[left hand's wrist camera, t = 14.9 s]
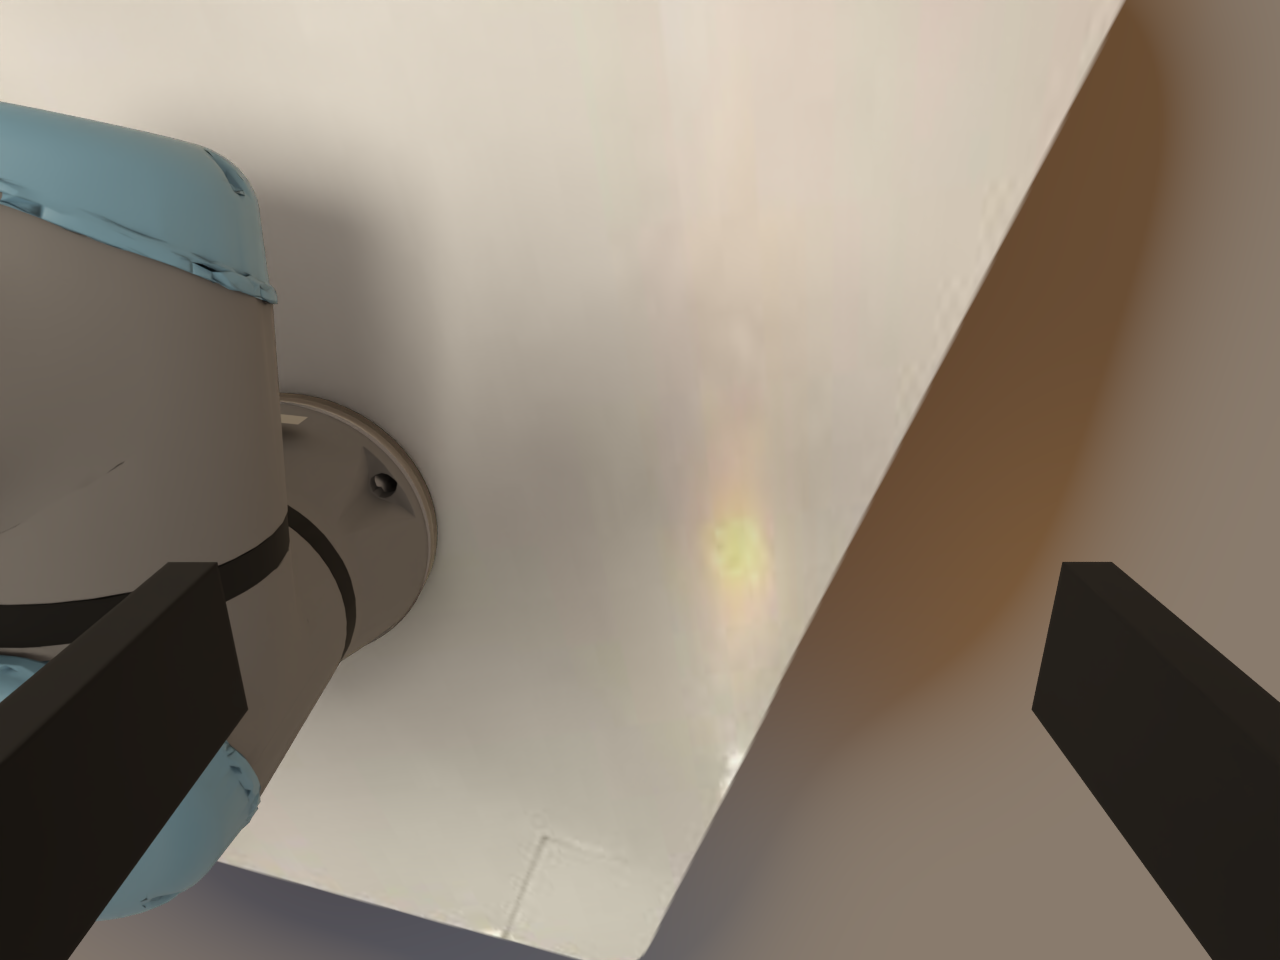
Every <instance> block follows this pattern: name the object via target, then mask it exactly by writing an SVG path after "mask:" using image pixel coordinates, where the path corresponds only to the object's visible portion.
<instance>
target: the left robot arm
mask: <svg viewBox="0 0 1280 960" xmlns="http://www.w3.org/2000/svg"><path fill="white" fill-rule="evenodd" d="M273 304H277V294H276V291H275V289H274V288H273V287H272V286H271V285H270V284H269V278H268V272H267V265H266V257H265V250H264V242H263V235H262V227H261V220H260V212H259V206H258V201H257V198H256V195H255V193H254V191H253V189H252V187H251V185H250V183H249V181H248V180H247V179H246V177H245V176H244V175H243V173H242V172H241V171H240V170H239V169H238V168H237V167H236V166H235V165H234V164H233V163H231V162H230V161H229V160H227V159H226V158H225V157H223V156H222V155H220V154H218V153H216V152H214V151H212V150H210V149H208V148H205V147H203V146H200V145H196V144H193V143H189V142H185V141H182V140H178V139H174V138H170V137H165V136H161V135H157V134H153V133H149V132H144V131H140V130H135V129H131V128H126V127H122V126H117V125H113V124H108V123H103V122H99V121H94V120H89V119H85V118H80V117H75V116H70V115H65V114H61V113H56V112H51V111H46V110H41V109H36V108H31V107H26V106H21V105H16V104H11V103H6V102H1V101H0V960H68V959H69V957H70V956H71V954H72V953H73V952H74V950H75V949H76V947H77V946H78V945H79V943H80V942H81V941H82V939H83V938H84V936H85V935H86V934H87V932H88V931H89V929H90V928H91V927H92V925H93V924H94V922H95V921H102V920H110V919H117V918H123V917H127V916H131V915H135V914H139V913H142V912H145V911H148V910H151V909H153V908H156V907H158V906H160V905H163V904H165V903H167V902H169V901H170V900H172V899H174V898H175V897H176V896H177V895H178V894H179V893H181V892H184V891H186V890H187V889H188V888H190V887H192V886H194V885H195V884H196V883H197V882H199V881H200V880H201V879H202V878H203V877H204V876H205V875H206V874H207V873H208V872H209V870H210V869H211V868H212V867H213V865H214V864H215V863H216V861H217V860H218V859H219V858H220V856H221V855H222V854H223V852H224V851H225V850H226V849H227V847H228V846H229V845H230V843H231V842H232V841H233V840H234V838H235V837H236V836H237V834H238V833H239V832H240V831H241V829H242V828H244V827H245V826H246V825H247V824H248V823H249V822H250V820H251V818H252V816H253V815H254V814H255V812H256V811H257V809H258V807H257V806H258V805H259V803H260V796H261V795H262V793H263V791H264V790H265V788H266V786H267V785H268V783H269V781H270V780H271V778H272V776H273V774H274V773H275V771H276V769H277V768H278V766H279V764H280V763H281V761H282V759H283V758H284V756H285V754H286V753H287V751H288V749H289V748H290V746H291V744H292V743H293V741H294V739H295V738H296V736H297V734H298V732H299V731H300V729H301V727H302V726H303V724H304V722H305V721H306V719H307V717H308V716H309V714H310V712H311V711H312V709H313V707H314V706H315V704H316V702H317V701H318V699H319V697H320V695H321V694H322V692H323V690H324V689H325V687H326V685H327V684H328V682H329V680H330V679H331V677H332V675H333V674H334V672H335V670H336V668H337V666H338V665H339V663H340V661H342V660H344V659H345V658H347V657H348V656H350V655H351V654H353V653H355V652H356V651H358V650H359V649H360V648H362V647H363V646H365V645H367V644H369V643H371V642H373V641H375V640H376V639H378V638H380V637H381V636H383V635H384V634H386V633H387V632H388V631H390V630H391V629H392V628H394V627H395V626H396V625H397V624H398V623H399V622H400V621H401V620H402V619H403V618H404V617H405V615H406V614H407V613H408V612H409V611H410V609H411V608H412V606H413V605H414V603H415V602H416V600H417V598H418V596H419V594H420V592H421V590H422V588H423V586H424V584H425V582H426V581H427V579H428V577H429V574H430V571H431V569H432V566H433V562H434V558H435V553H436V546H437V523H436V516H435V511H434V506H433V503H432V500H431V496H430V494H429V491H428V489H427V486H426V484H425V482H424V480H423V478H422V476H421V474H420V472H419V471H418V469H417V468H416V466H415V465H414V463H413V461H412V460H411V459H410V458H409V456H408V455H407V454H406V452H405V451H404V450H403V449H402V448H401V447H400V446H399V445H398V444H397V442H396V441H395V440H394V439H393V438H391V437H390V436H389V435H388V434H387V433H386V432H385V431H383V430H382V429H381V428H380V427H378V426H377V425H376V424H374V423H373V422H371V421H370V420H368V419H367V418H365V417H363V416H362V415H360V414H358V413H356V412H354V411H352V410H350V409H348V408H346V407H344V406H342V405H339V404H336V403H334V402H331V401H328V400H324V399H321V398H318V397H313V396H308V395H302V394H293V393H279V384H278V370H277V356H276V342H275V328H274V314H273ZM1032 711H1033V712H1034V713H1035V715H1036V716H1037V718H1038V719H1039V720H1040V722H1041V723H1042V725H1043V726H1044V727H1045V729H1046V730H1047V731H1048V733H1049V734H1050V736H1051V737H1052V738H1053V740H1054V741H1055V743H1056V744H1057V745H1058V747H1059V748H1060V749H1061V751H1062V752H1063V754H1064V755H1065V756H1066V758H1067V759H1068V761H1069V762H1070V763H1071V765H1072V766H1073V767H1074V769H1075V770H1076V772H1077V773H1078V774H1079V776H1080V777H1081V779H1082V780H1083V781H1084V783H1085V784H1086V785H1087V787H1088V788H1089V790H1090V791H1091V792H1092V794H1093V795H1094V797H1095V798H1096V799H1097V801H1098V802H1099V803H1100V805H1101V806H1102V808H1103V809H1104V810H1105V812H1106V813H1107V815H1108V816H1109V817H1110V819H1111V820H1112V821H1113V823H1114V824H1115V826H1116V827H1117V828H1118V830H1119V831H1120V833H1121V834H1122V835H1123V837H1124V838H1125V839H1126V841H1127V842H1128V844H1129V845H1130V846H1131V848H1132V849H1133V851H1134V852H1135V853H1136V855H1137V856H1138V857H1139V859H1140V860H1141V862H1142V863H1143V864H1144V866H1145V867H1146V869H1147V870H1148V871H1149V873H1150V874H1151V875H1152V877H1153V878H1154V880H1155V881H1156V882H1157V884H1158V885H1159V887H1160V888H1161V889H1162V891H1163V892H1164V893H1165V895H1166V896H1167V898H1168V899H1169V900H1170V902H1171V903H1172V905H1173V906H1174V907H1175V909H1176V910H1177V911H1178V913H1179V914H1180V916H1181V917H1182V918H1183V920H1184V921H1185V923H1186V924H1187V925H1188V927H1189V928H1190V929H1191V931H1192V932H1193V934H1194V935H1195V936H1196V938H1197V939H1198V941H1199V942H1200V943H1201V945H1202V946H1203V947H1204V949H1205V950H1206V952H1207V953H1208V954H1209V956H1210V957H1211V959H1212V960H1280V702H1279V701H1277V700H1276V699H1275V698H1274V697H1272V696H1271V695H1270V694H1269V693H1268V692H1267V691H1265V690H1264V689H1263V688H1262V687H1261V686H1259V685H1258V684H1257V683H1256V682H1255V681H1253V680H1252V679H1251V678H1250V677H1249V676H1247V675H1246V674H1245V673H1244V672H1243V671H1241V670H1240V669H1239V668H1238V667H1237V666H1236V665H1234V664H1233V663H1232V662H1231V661H1230V660H1228V659H1227V658H1226V657H1225V656H1224V655H1222V654H1221V653H1220V652H1219V651H1218V650H1216V649H1215V648H1214V647H1213V646H1212V645H1210V644H1209V643H1208V642H1207V641H1206V640H1204V639H1203V638H1202V637H1201V636H1200V635H1198V634H1197V633H1196V632H1195V631H1194V630H1192V629H1191V628H1190V627H1189V626H1188V625H1186V624H1185V623H1184V622H1183V621H1182V620H1181V619H1179V618H1178V617H1177V616H1176V615H1175V614H1173V613H1172V612H1171V611H1170V610H1169V609H1167V608H1166V607H1165V606H1164V605H1163V604H1161V603H1160V602H1159V601H1158V600H1156V599H1155V598H1154V597H1153V596H1152V595H1151V594H1149V593H1148V592H1147V591H1146V590H1145V589H1143V588H1142V587H1141V586H1140V585H1139V584H1138V583H1136V582H1135V581H1134V580H1133V579H1132V578H1130V577H1129V576H1128V575H1127V574H1126V573H1124V572H1123V571H1122V570H1121V569H1120V568H1118V567H1117V566H1116V565H1115V564H1114V563H1112V562H1063V563H1062V567H1061V572H1060V577H1059V581H1058V586H1057V591H1056V596H1055V600H1054V605H1053V610H1052V615H1051V619H1050V624H1049V629H1048V634H1047V639H1046V643H1045V648H1044V653H1043V658H1042V662H1041V667H1040V672H1039V677H1038V682H1037V686H1036V691H1035V696H1034V701H1033V706H1032Z"/></svg>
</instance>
